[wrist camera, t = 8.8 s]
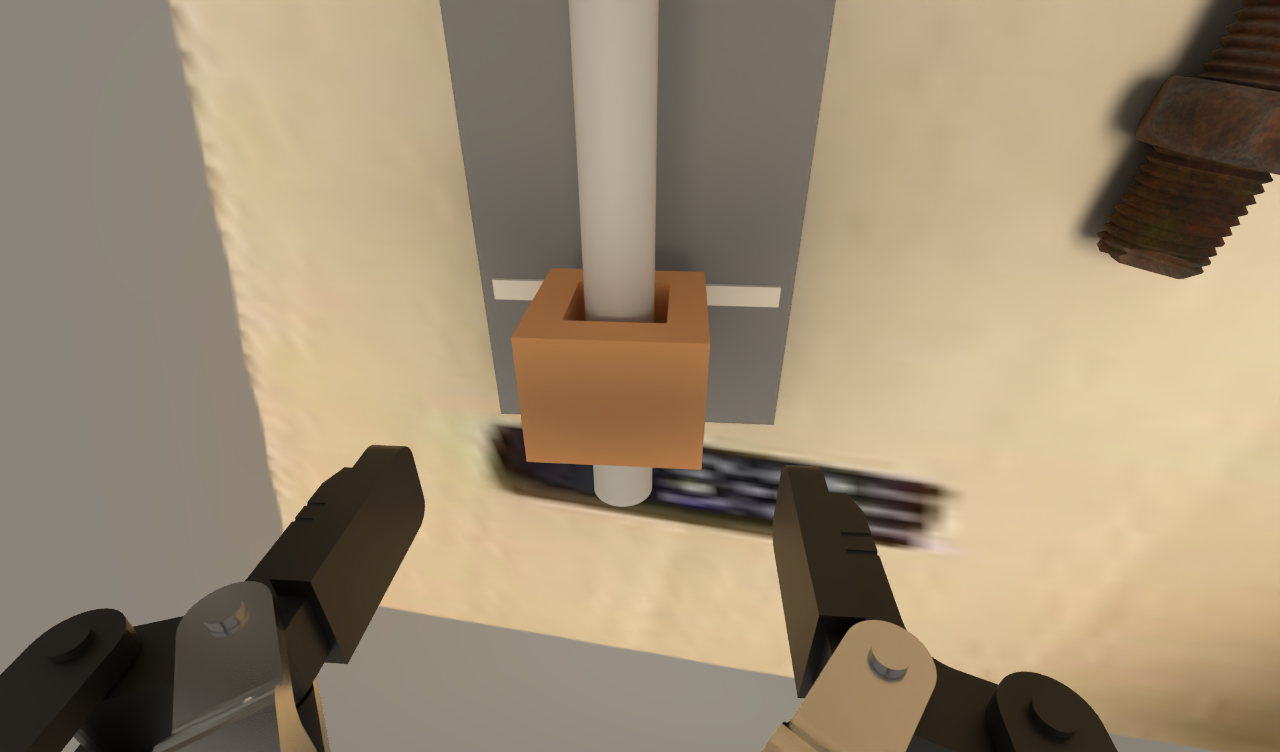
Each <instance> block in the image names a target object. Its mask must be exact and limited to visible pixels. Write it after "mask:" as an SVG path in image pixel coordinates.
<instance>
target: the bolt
mask: <svg viewBox="0 0 1280 752" xmlns="http://www.w3.org/2000/svg"><path fill="white" fill-rule="evenodd" d="M1242 2H1243V4H1244V5H1245V6H1246V8H1243V9H1241V10H1238V11H1235V12H1234V15H1235V16H1236V18H1237V20H1238V21H1236V22H1234V23H1231V24H1229V25H1227V26H1226V29H1227V31H1228V32H1229V35H1226V36H1224V37H1221V38H1219V39H1218V41H1219V43H1220V44H1221V46H1222V47H1220V48H1218V49H1216V50H1213V51H1211V52H1210V54H1211V55H1212V57H1213V59H1214V60H1212V61H1209V62H1207V63H1204V64H1202V66H1203V67H1204V69H1205V71H1206V72H1205V73H1203V74H1200V75H1197V76H1195V78H1192V77H1185V76H1177V75H1175V76H1171V77H1170V78H1169V79H1168V80H1166V82H1165V83H1164V84H1163V85H1162V86H1161V88H1160V90H1159V91H1158V93H1157V95H1156V96H1155V98H1154V100H1153V101H1152V103H1151V105H1150V106H1149V108H1148V110H1147V111H1146V113H1145V115H1144V116H1143V118H1142V120H1141V121H1140V123H1139V125H1138V126H1137V129H1136V132H1135V136H1136V139H1137V140H1139V141H1142V142H1145V143H1148V144H1151V145H1152V146H1153V148H1154V149H1155V150H1156V152H1154V153H1151V154H1149V155H1146V157H1147V159H1148V160H1149V162H1148V163H1146V164H1143V165H1141V166H1140V168H1141V169H1142V171H1143V173H1140V174H1138V175H1135V176H1133V177H1134V178H1135V180H1136V181H1137V183H1134V184H1131V185H1129V186H1127V187H1128V189H1129V190H1130V193H1127V194H1125V195H1122V196H1121V198H1122V199H1123V201H1124V202H1123V203H1121V204H1118V205H1116V206H1114V207H1115V208H1116V210H1117V211H1118V212H1117V213H1115V214H1112V215H1109V216H1108V217H1109V218H1110V220H1111V221H1112V222H1109V223H1105V224H1103V226H1104V228H1105V230H1106V231H1103V232H1099V233H1097V235H1098V236H1099V238H1100V239H1101V240H1100V241H1099V242H1098V243H1097V245H1098V247H1099V250H1100V251H1101V252H1105V253H1108V254H1110V256H1111V257H1112V258H1113V259H1115V260H1116V261H1118V262H1119V263H1122V264H1126V265H1129V266H1133V267H1136V268H1140V269H1143V270H1147V271H1150V272H1154V273H1158V274H1161V275H1165V276H1169V277H1173V278H1176V279H1184V278H1187V277H1191V276H1195V275H1198V274H1202V273H1203V272H1204V271H1203V270H1202V266H1207V265H1210V264H1211V261H1210V260H1209V258H1208V257H1212V256H1216V255H1217V253H1216V250H1215V247H1221V246H1223V245H1224V244H1225V243H1224V240H1223V238H1222V237H1226V236H1231V235H1232V232H1231V229H1230V227H1233V226H1237V225H1240V223H1239V220H1238V217H1239V216H1244V215H1247V214H1248V211H1247V209H1246V206H1248V205H1252V204H1256V201H1255V198H1254V196H1253V195H1257V194H1261V193H1263V192H1265V191H1264V189H1263V186H1262V184H1264V183H1268V182H1272V181H1273V179H1272V177H1271V175H1270V173H1273V174H1278V175H1280V0H1243V1H1242Z"/></svg>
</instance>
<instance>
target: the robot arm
mask: <svg viewBox="0 0 1280 752" xmlns="http://www.w3.org/2000/svg"><path fill="white" fill-rule="evenodd" d="M424 511H425V501H424V496H423V492H422V488H421V484H420V480H419V477H418V473H417V469H416V465H415V462H414V458H413V454H412V452H411V450H410V449H409V448H408V447H406V446H385V445H371V446H369V447H368V448H367V449H366V450H365V452H364V453H363V454H362V456H361V457H360V458H359V460H358V461H357V462H356V464H355V465H354V466H353V468H347V467H344V468H343V469H342V470H340V471H339V472H338V473H336V474H335V475H333V476H332V477H331V478H329V479H328V480H326V481H325V482H324V483H322V484H321V486H320V487H319V488H318V489H317V491H316V492H315V493H314V495H313V496H312V497H311V498H310V500H309V501H308V504H307V506H304V507H303V508H302V510H301V511H300V512H299V513H298V515H297V516H296V517H295V522H291V524H290V525H289V526H288V527H287V529H286V530H285V531H284V532H283V534H282V535H281V536H280V537H279V539H278V540H277V541H276V543H275V544H274V545H273V546H272V548H271V549H270V550H269V552H268V553H267V554H266V555H265V556H264V558H263V559H262V560H261V561H260V563H259V564H258V565H257V567H256V568H255V569H254V570H253V572H252V573H251V574H250V575H249V577H248V578H247V579H246V580H245V581H244V582H238V583H233V584H230V585H227V586H224V587H222V588H219V589H217V590H215V591H214V592H212V593H210V594H208V595H207V596H205V597H204V598H202V599H201V600H199V601H198V602H197V603H196V604H195V605H193V607H192V608H191V609H189V610H188V612H187V613H186V614H185V615H184V616H182V617H177V618H172V619H168V620H163V621H158V622H153V623H149V624H144V625H139V626H134V627H132V626H131V624H130V623H129V622H128V620H127V619H126V617H125V616H124V615H123V613H121V612H120V611H118V610H114V609H107V608H106V609H96V610H91V611H87V612H84V613H81V614H78V615H76V616H73V617H71V618H69V619H67V620H65V621H62V622H61V623H59V624H57V625H55V626H54V627H52V628H51V629H49V630H48V631H46V632H45V633H44V634H42V635H41V636H40V637H39V638H37V639H36V640H35V641H34V642H33V643H32V644H31V645H29V646H28V648H27V649H25V651H24V652H23V653H21V655H20V656H19V657H18V658H17V659H16V660H15V661H14V662H13V663H12V664H11V665H10V666H9V667H8V668H7V669H6V670H5V671H4V672H3V673H2V674H1V675H0V752H61V751H62V750H63V748H64V747H65V746H66V745H67V743H68V742H69V741H70V740H71V738H72V737H74V738H75V739H76V740H77V741H78V742H79V743H80V745H79V747H78V748H77V749H76V750H75V752H331V751H330V746H329V740H328V735H327V729H326V724H325V719H324V713H323V707H322V702H321V696H320V691H319V686H318V682H317V680H316V676H317V674H318V673H319V671H320V669H321V667H322V666H323V664H324V662H327V663H341V664H348V662H349V660H350V659H351V657H352V655H353V653H354V651H355V649H356V647H357V645H358V644H359V641H360V640H361V638H362V636H363V634H364V632H365V630H366V628H367V626H368V625H369V623H370V621H371V619H372V617H373V615H374V613H375V611H376V610H377V608H378V606H379V604H380V602H381V600H382V598H383V596H384V594H385V593H386V591H387V589H388V587H389V585H390V583H391V581H392V579H393V578H394V576H395V574H396V572H397V570H398V568H399V566H400V564H401V562H402V561H403V559H404V557H405V555H406V553H407V551H408V549H409V547H410V545H411V544H412V542H413V540H414V538H415V536H416V534H417V532H418V530H419V528H420V526H421V524H422V521H423V517H424ZM773 546H774V553H775V559H776V565H777V572H778V578H779V584H780V590H781V596H782V603H783V609H784V615H785V621H786V627H787V634H788V640H789V646H790V652H791V658H792V665H793V671H794V677H795V683H796V689H797V695H798V698H805V699H804V700H803V702H802V704H801V705H800V707H799V708H798V710H797V711H796V713H795V715H794V716H793V717H792V719H791V720H790V721H789V722H788V723H786V722H783V723H782V724H781V725H780V726H779V727H778V728H777V730H776V731H775V732H774V734H773V735H772V737H771V738H770V740H769V741H768V743H767V744H766V746H765V748H764V749H763V750H762V752H1118V751H1117V749H1116V748H1115V746H1114V744H1113V742H1112V740H1111V738H1110V736H1109V734H1108V732H1107V731H1106V729H1105V727H1104V725H1103V723H1102V722H1101V720H1100V718H1099V717H1098V715H1097V714H1096V713H1095V711H1094V710H1093V709H1092V708H1091V707H1090V705H1089V704H1088V703H1087V702H1086V701H1085V700H1084V699H1083V698H1081V697H1080V696H1079V695H1078V694H1077V693H1076V692H1074V691H1073V690H1071V689H1070V688H1068V687H1067V686H1065V685H1064V684H1062V683H1060V682H1058V681H1057V680H1054V679H1052V678H1050V677H1048V676H1045V675H1041V674H1038V673H1033V672H1016V673H1012V674H1010V675H1008V676H1006V677H1005V678H1003V680H1002V681H1001V682H1000V684H999V685H997V684H995V683H992V682H989V681H986V680H983V679H981V678H978V677H975V676H972V675H969V674H966V673H964V672H961V671H958V670H955V669H953V668H951V667H948V666H946V665H944V664H942V663H941V662H939V661H937V660H936V659H934V658H933V657H931V655H930V653H929V652H928V650H927V649H926V647H925V646H924V645H923V644H922V643H921V642H920V641H919V640H918V639H917V638H916V637H915V636H914V635H913V634H911V633H910V632H908V631H907V630H906V628H905V626H904V624H903V621H902V619H901V616H900V613H899V610H898V607H897V605H896V602H895V599H894V596H893V593H892V591H891V588H890V585H889V582H888V579H887V576H886V574H885V571H884V568H883V565H882V562H881V560H880V557H879V556H878V555H877V548H876V546H875V543H874V540H873V538H871V532H870V529H869V526H868V523H867V520H866V517H865V515H864V512H863V511H862V510H861V509H860V508H859V506H858V505H857V504H856V503H855V502H854V501H853V500H852V499H851V498H850V496H849V495H848V494H847V493H831V492H829V491H828V488H827V484H826V481H825V478H824V474H823V471H822V469H821V468H820V467H812V466H790V465H784V466H783V468H782V471H781V476H780V482H779V488H778V494H777V500H776V506H775V512H774V518H773Z"/></svg>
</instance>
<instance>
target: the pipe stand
mask: <svg viewBox="0 0 1280 752" xmlns="http://www.w3.org/2000/svg"><path fill="white" fill-rule="evenodd" d="M440 6H441V13H442V20H443V26H444V33H445V40H446V47H447V53H448V60H449V67H450V73H451V80H452V87H453V93H454V100H455V107H456V113H457V120H458V127H459V134H460V140H461V147H462V154H463V160H464V167H465V174H466V180H467V187H468V194H469V201H470V207H471V214H472V221H473V227H474V234H475V241H476V247H477V254H478V261H479V268H480V274H481V281H482V288H483V294H484V301H485V308H486V314H487V321H488V328H489V335H490V341H491V348H492V355H493V361H494V368H495V375H496V381H497V388H498V395H499V401H500V408H501V414H521V412H520V405H519V397H518V389H517V381H516V374H515V366H514V358H513V350H512V342H511V336H512V335H513V333H514V331H515V330H516V328H517V326H518V324H519V323H520V321H521V319H522V317H523V316H524V314H525V312H526V311H527V309H528V307H529V305H530V304H531V302H532V300H533V298H534V297H535V295H536V293H537V292H538V290H539V288H540V286H541V285H542V283H543V281H544V279H545V278H546V276H547V274H548V273H549V271H550V269H551V268H570V269H583V281H584V300H585V319H586V321H604V322H637V323H654V298H655V271H689V272H705V280H706V294H707V307H708V321H709V335H710V354H709V368H708V382H707V396H706V410H705V422H718V423H742V424H767V425H774V419H775V412H776V405H777V398H778V391H779V384H780V378H781V371H782V364H783V357H784V350H785V343H786V336H787V330H788V323H789V316H790V309H791V302H792V295H793V288H794V282H795V275H796V268H797V261H798V254H799V247H800V240H801V234H802V227H803V220H804V213H805V206H806V199H807V192H808V186H809V179H810V172H811V165H812V158H813V151H814V144H815V138H816V131H817V124H818V117H819V110H820V103H821V96H822V90H823V83H824V76H825V69H826V62H827V55H828V48H829V42H830V35H831V28H832V21H833V14H834V7H835V0H440ZM593 469H594V488H595V493H596V495H597V496H598V497H599V498H600V499H601V500H602V501H603V502H605V503H607V504H610V505H613V506H620V507H625V506H632V505H635V504H638V503H640V502H642V501H643V500H645V499H646V498H647V497H648V496H649V494H650V493H651V490H652V467H631V466H609V465H593Z"/></svg>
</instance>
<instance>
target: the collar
mask: <svg viewBox="0 0 1280 752" xmlns="http://www.w3.org/2000/svg"><path fill="white" fill-rule="evenodd" d="M511 342H512V350H513V358H514V366H515V374H516V381H517V389H518V397H519V405H520V412H521V420H522V428H523V436H524V444H525V451H526V459H527V462H544V463H566V464H587V465H609V466H631V467H653V468H674V469H696V470H701V467H702V453H703V439H704V424H705V410H706V396H707V382H708V368H709V354H710V335H709V321H708V307H707V294H706V280H705V272H689V271H655V298H654V323H637V322H604V321H586V319H585V300H584V281H583V269H570V268H551V269H550V271H549V273H548V274H547V276H546V278H545V279H544V281H543V283H542V285H541V286H540V288H539V290H538V292H537V293H536V295H535V297H534V298H533V300H532V302H531V304H530V305H529V307H528V309H527V311H526V312H525V314H524V316H523V317H522V319H521V321H520V323H519V324H518V326H517V328H516V330H515V331H514V333H513V335H512V336H511Z"/></svg>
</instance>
